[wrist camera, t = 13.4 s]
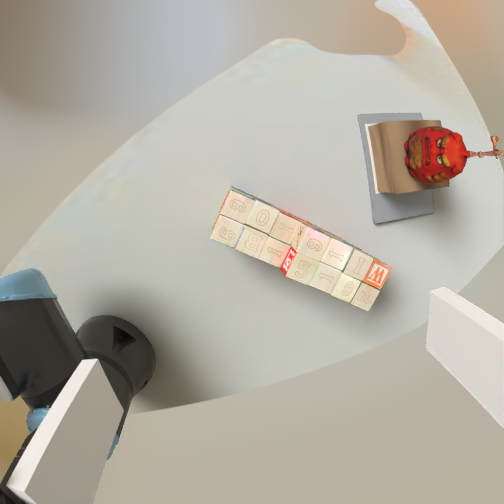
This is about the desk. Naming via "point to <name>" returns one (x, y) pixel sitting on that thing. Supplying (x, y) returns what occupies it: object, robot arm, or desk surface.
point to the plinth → (397, 156)
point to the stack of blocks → (299, 249)
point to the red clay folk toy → (439, 154)
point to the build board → (384, 202)
